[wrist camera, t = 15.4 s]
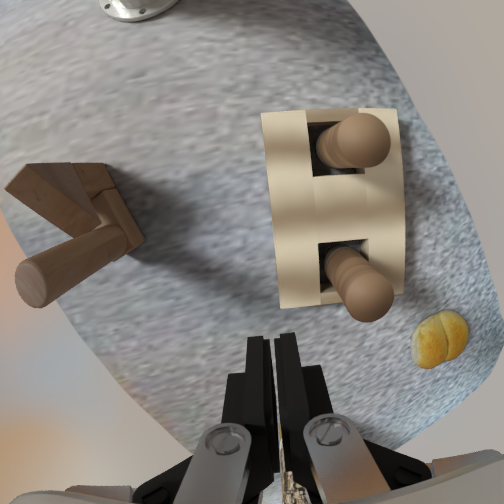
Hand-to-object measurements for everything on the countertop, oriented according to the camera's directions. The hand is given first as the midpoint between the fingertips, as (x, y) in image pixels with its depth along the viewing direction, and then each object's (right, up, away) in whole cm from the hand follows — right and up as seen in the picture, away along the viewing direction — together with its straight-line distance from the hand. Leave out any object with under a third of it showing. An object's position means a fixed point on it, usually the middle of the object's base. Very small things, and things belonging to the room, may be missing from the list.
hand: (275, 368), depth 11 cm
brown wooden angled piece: (-17, +9, +24) cm, 30 cm away
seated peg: (+8, +15, +21) cm, 27 cm away
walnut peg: (+9, +4, +24) cm, 26 cm away
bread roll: (+25, -7, +27) cm, 37 cm away
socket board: (+8, +9, +23) cm, 26 cm away
